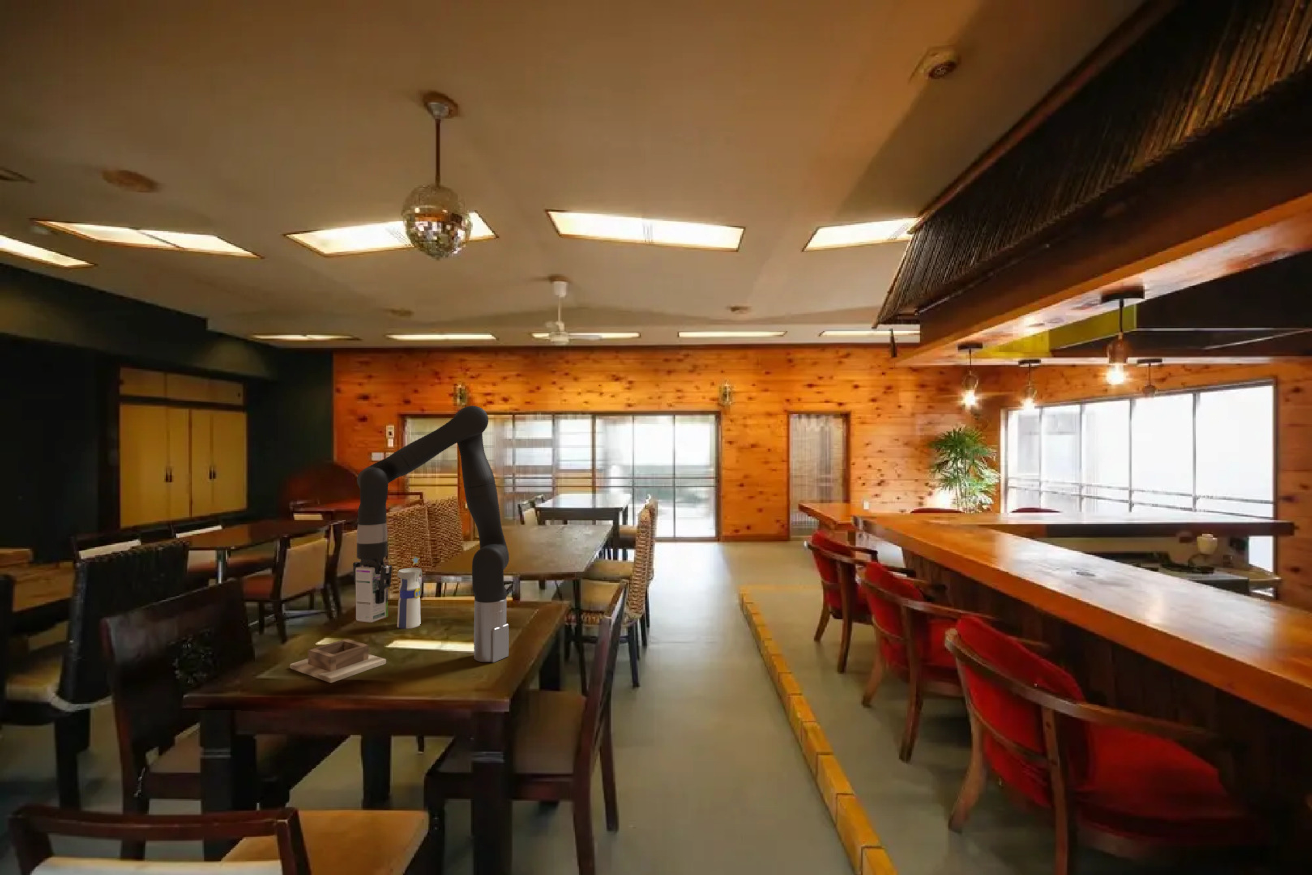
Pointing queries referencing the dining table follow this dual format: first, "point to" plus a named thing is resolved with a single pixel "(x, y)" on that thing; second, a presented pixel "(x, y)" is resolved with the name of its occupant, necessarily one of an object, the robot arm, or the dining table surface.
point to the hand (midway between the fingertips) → (372, 601)
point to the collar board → (338, 660)
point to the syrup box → (369, 596)
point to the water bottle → (409, 597)
